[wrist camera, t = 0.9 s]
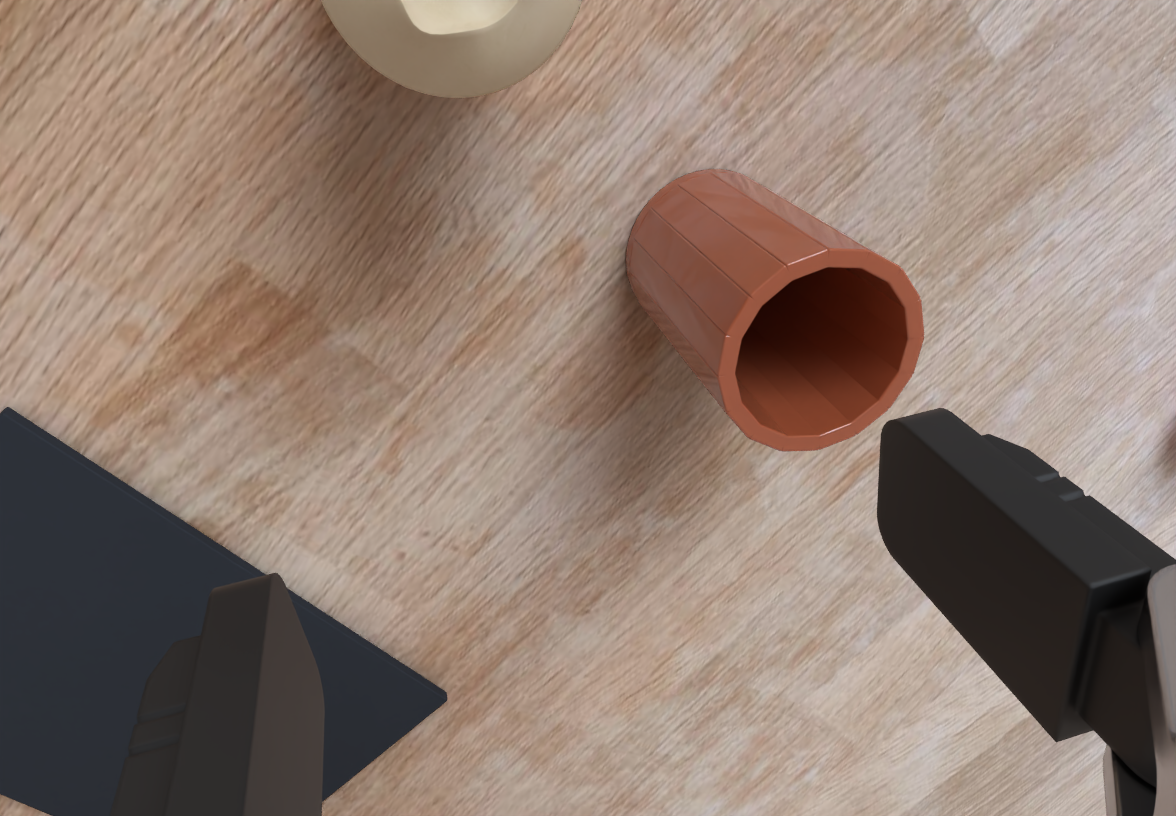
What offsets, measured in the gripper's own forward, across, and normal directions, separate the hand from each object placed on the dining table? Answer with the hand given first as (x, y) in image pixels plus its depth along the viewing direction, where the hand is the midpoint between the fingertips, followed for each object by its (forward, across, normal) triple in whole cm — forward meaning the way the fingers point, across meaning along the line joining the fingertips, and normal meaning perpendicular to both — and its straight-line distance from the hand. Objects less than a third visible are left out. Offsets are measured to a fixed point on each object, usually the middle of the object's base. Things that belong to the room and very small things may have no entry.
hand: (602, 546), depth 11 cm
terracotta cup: (+19, -8, +4) cm, 21 cm away
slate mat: (+19, +16, +16) cm, 29 cm away
